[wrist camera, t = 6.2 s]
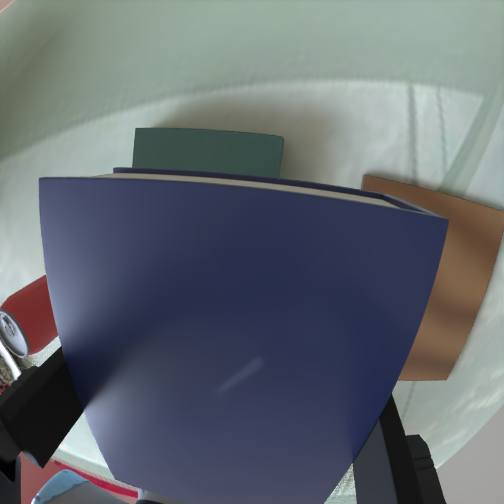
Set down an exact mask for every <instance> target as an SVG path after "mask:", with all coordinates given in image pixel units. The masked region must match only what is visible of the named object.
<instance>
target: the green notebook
mask: <svg viewBox="0 0 504 504" xmlns="http://www.w3.org/2000/svg"><path fill="white" fill-rule="evenodd" d="M283 140H284V139H283V137H282V136H274V135H265V134H256V133H246V132H234V131H221V130H206V129H183V128H136V129H135V139H134V151H133V164H132V168H159V169H180V170H196V171H211V172H224V173H235V174H246V175H256V176H266V177H275V178H279V172H280V164H281V156H282V148H283Z"/></svg>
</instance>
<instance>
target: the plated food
mask: <svg viewBox="0 0 504 504" xmlns="http://www.w3.org/2000/svg"><path fill="white" fill-rule="evenodd" d="M21 374H22V373H21V371H20V369H19V367H18V366H17V364H16V362H15V361H14V359H13V357H12V356H11V354H10V353H9V351H8V350H7V348H6V347H5V345H4V344H3V342H2V341H1V339H0V394H1V393H2V392H3V391H4V390H5V389H6V388H7V387H8V386H11V383H12V382H13V381H14V380H17V377H18V376H19V375H21Z"/></svg>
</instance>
